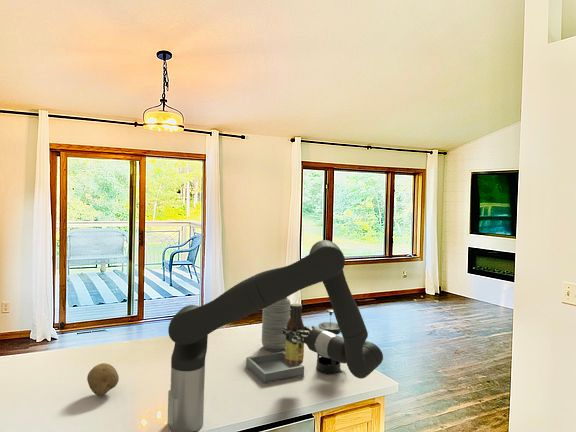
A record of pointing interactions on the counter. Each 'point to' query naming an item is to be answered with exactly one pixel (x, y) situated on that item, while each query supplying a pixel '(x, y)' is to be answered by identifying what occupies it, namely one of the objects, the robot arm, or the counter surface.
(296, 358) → the sauce bottle
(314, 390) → the counter surface
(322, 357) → the french press
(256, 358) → the tray
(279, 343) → the vase
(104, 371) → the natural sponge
